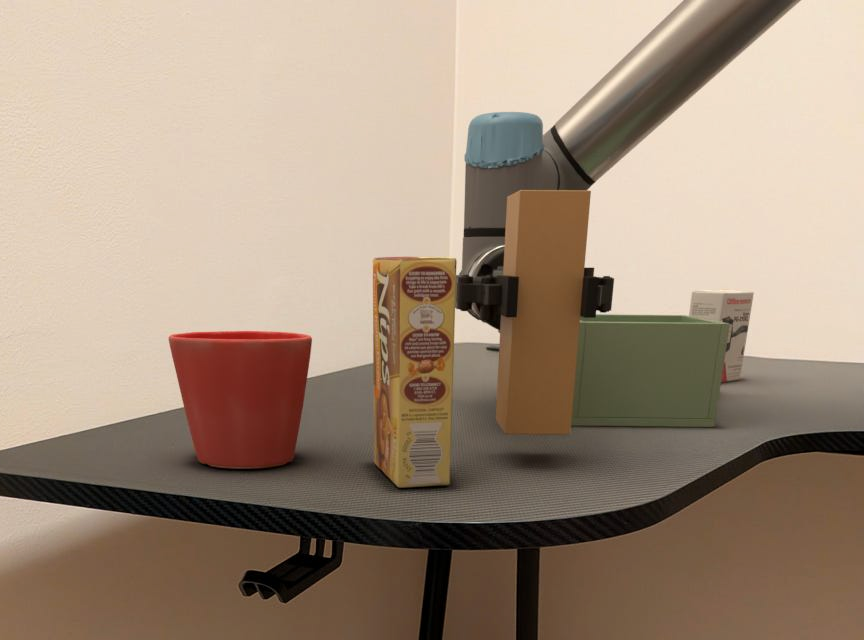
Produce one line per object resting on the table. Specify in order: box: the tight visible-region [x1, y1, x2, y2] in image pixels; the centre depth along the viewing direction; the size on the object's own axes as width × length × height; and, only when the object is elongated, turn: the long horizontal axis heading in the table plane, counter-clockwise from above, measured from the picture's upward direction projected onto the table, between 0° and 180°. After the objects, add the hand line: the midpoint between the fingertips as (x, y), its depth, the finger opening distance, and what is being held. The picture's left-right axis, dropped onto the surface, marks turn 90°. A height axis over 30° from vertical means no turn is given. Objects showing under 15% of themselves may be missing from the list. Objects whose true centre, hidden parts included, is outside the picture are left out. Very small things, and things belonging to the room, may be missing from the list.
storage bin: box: [571, 313, 730, 428], centre depth 95 cm, size 15×14×10 cm
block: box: [495, 189, 592, 436], centre depth 70 cm, size 5×7×17 cm
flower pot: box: [168, 330, 313, 470], centre depth 72 cm, size 11×11×10 cm
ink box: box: [688, 288, 754, 383], centre depth 124 cm, size 8×5×12 cm, turn 134°
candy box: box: [372, 256, 458, 489], centre depth 66 cm, size 9×4×15 cm, turn 13°
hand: (552, 297), depth 65 cm, fingers closed on block, 5 cm apart
